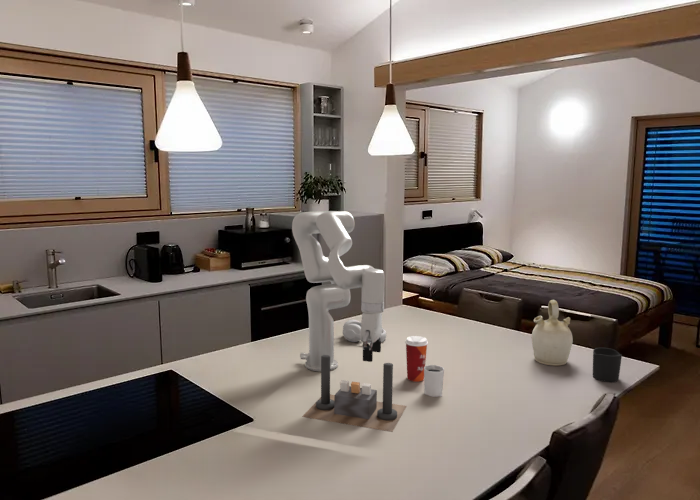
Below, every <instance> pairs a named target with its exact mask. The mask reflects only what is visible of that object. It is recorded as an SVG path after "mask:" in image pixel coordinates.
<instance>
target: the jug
mask: <svg viewBox="0 0 700 500" xmlns="http://www.w3.org/2000/svg"><path fill="white" fill-rule="evenodd" d="M547 306H548V307H547V312H548V319H545V320H544V319H543V318H544V317H543V316H542V315H538V316H536V317H534V319H533V322H534V323H535V326H534V328H533V330H532V331H531V332H532V333H531V344H532V350H533V352H532V354H533V356H534V358H533V359H534V360H535V361H536V362H537V363H539V364H542V365H546V366H555V367H556V366H557V367H558V366H564V365H566V364H567V363H568V359H569V356H570V353H571V350H572V347H573V346H572V345H573V343H574V341H573V333H572V331H571V329H570V327H568V326H569V325H570V324H571V323H570V322H571V317H569V316H568V317H566V318H563V320H562V321H560V320H559V319H558V318H559V315H560V313H559V310H560V309H559V303H558V301H557V300H555V299H551V300H549V302H548V305H547Z"/></svg>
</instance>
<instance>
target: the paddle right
mask: <svg viewBox="0 0 700 500" xmlns="http://www.w3.org/2000/svg"><path fill="white" fill-rule="evenodd" d="M361 388H362V394H365V395H370V394H371V389H372V384H371V383H366V382H363V383H362V384H361Z"/></svg>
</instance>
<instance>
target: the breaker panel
mask: <svg viewBox="0 0 700 500" xmlns="http://www.w3.org/2000/svg"><path fill="white" fill-rule="evenodd" d="M377 395H378V390H377V389H372V388H371V394H370V395H365V394H362V387H360V392H359V394H358V393H352V392H351V385H349V391H348V392H345V391H341V389H340V388H339V390H337V392H336V393H335V394H332V393H330V399H332V400H334V409H332V410H319V409H317V408H316V402H315V403H313V404H312V405H311V406H310V407H309V408H308V410H307V411H306V412H305V413H304V414H303V415H302V417H303V418H307V419H313V420H314V419H315V420H319V421H324V422H331V423H336V424H337V423H338V424H343V425H349V426H355V427H360V428H361V427H362V428H366V429H367V428H368V429H374V430H379V431H385V432H391V433H393V432H394V430H395V428H396V426H397V425H398V422H399V421H400V419H401V418H402V416H403V414H404V412H405V410H406V408H407V407H408V406H407V405H403V404H398V403H397V404H396V403H392V409H394V410H396V411H397V418H396V419H394V420H390V421H386V420H381V419H379V418H378V417H377V411H378V410H379V409H382V408H383V401H378V400H377V397H378V396H377ZM320 399H321V396H320V397H319V399H318V400H320Z"/></svg>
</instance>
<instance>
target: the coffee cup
mask: <svg viewBox="0 0 700 500" xmlns="http://www.w3.org/2000/svg"><path fill="white" fill-rule="evenodd" d="M404 343H405V351H406V353H405V354H406V355H405V357H406V375H407V380H408V381H411V382H413V383H414V382H415V383H416V382H423V381H424V367H425V366H426V361H427V360H426V359H427V349H428V344H429V341H428V339H427V338H426V337H425V336H420V335H410V336H407V338H406V340H405V341H404Z"/></svg>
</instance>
